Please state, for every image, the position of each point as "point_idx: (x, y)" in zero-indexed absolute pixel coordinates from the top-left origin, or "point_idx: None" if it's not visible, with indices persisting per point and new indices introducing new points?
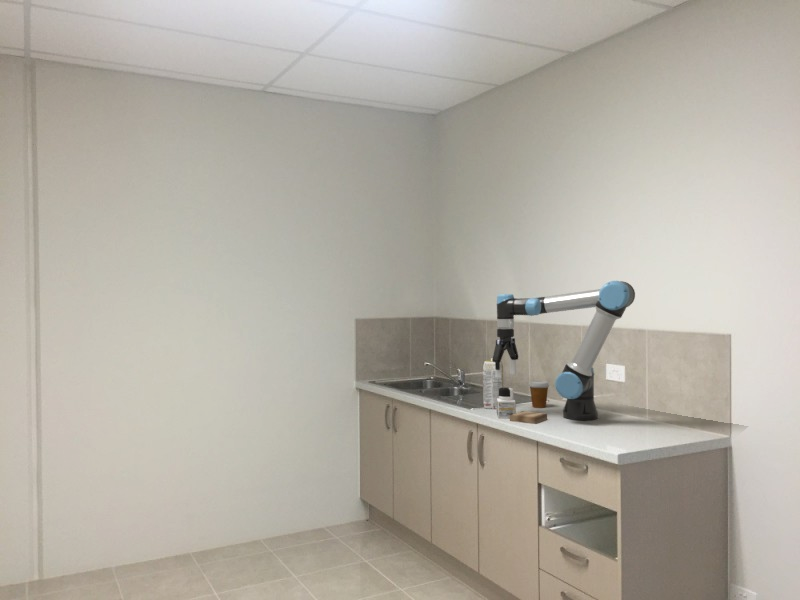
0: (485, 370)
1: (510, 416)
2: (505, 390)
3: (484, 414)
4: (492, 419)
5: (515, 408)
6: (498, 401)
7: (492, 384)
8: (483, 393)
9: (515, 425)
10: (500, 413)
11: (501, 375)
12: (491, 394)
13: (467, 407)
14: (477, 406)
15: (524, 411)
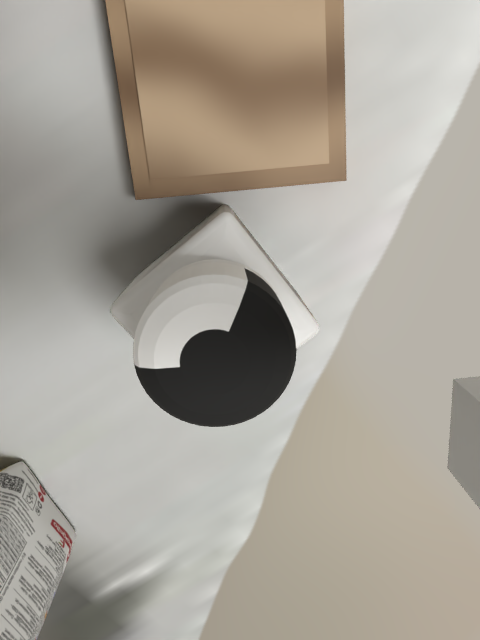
0: None
1: (342, 175)
2: (286, 318)
3: (238, 430)
4: (357, 300)
5: (226, 208)
6: (318, 330)
7: None
8: (40, 627)
9: (466, 47)
10: (295, 291)
11: (475, 391)
12: (22, 573)
13: (113, 614)
14: None
15: (153, 165)
